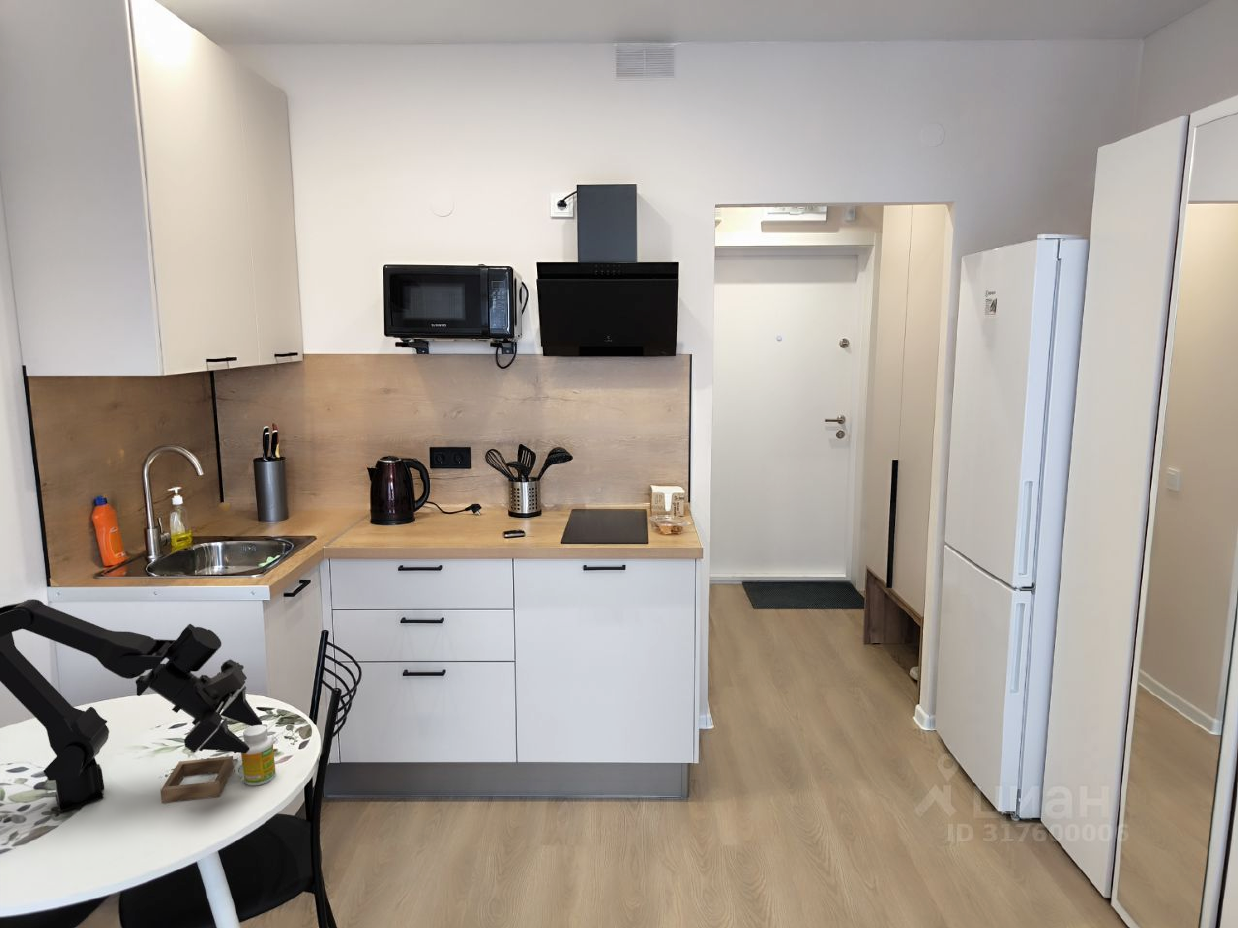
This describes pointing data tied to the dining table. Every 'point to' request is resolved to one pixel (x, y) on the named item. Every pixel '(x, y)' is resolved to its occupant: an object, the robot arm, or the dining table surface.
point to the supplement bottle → (258, 756)
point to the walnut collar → (197, 790)
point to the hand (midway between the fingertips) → (254, 737)
